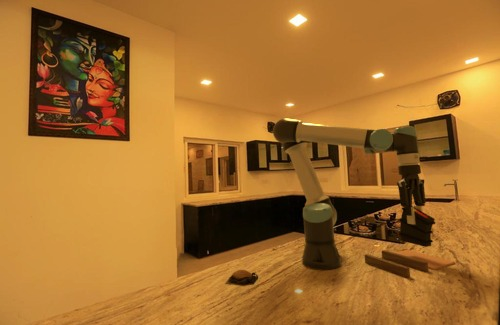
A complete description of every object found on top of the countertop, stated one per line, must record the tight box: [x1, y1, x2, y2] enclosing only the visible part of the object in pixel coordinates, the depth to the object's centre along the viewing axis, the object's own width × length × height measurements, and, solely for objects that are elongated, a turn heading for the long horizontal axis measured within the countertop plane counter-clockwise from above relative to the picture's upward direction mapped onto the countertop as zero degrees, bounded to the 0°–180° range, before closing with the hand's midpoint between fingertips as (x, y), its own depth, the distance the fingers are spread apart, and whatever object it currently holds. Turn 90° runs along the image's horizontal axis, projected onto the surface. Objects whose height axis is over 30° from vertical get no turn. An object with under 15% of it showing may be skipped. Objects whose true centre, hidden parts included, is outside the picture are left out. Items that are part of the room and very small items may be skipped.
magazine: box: [398, 205, 436, 248], centre depth 95 cm, size 4×13×15 cm, turn 16°
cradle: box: [364, 249, 430, 279], centre depth 88 cm, size 11×17×3 cm, turn 22°
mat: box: [395, 249, 456, 271], centre depth 94 cm, size 12×18×1 cm, turn 22°
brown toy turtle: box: [225, 269, 259, 286], centre depth 85 cm, size 11×8×4 cm
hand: (415, 222), depth 95 cm, fingers closed on magazine, 4 cm apart
